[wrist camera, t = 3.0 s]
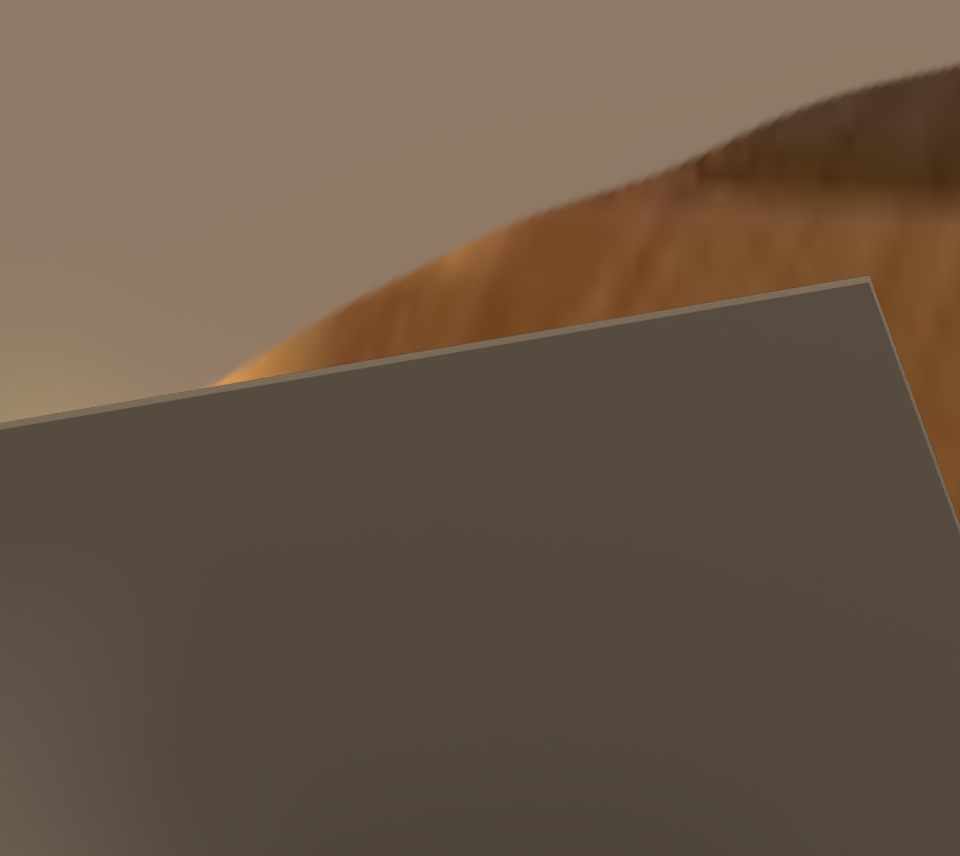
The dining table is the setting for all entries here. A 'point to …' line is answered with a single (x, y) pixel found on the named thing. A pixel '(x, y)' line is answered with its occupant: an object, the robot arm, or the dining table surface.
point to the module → (494, 602)
